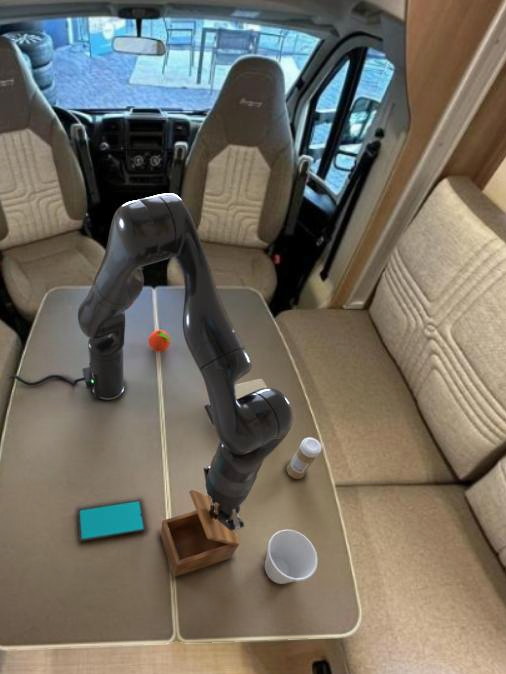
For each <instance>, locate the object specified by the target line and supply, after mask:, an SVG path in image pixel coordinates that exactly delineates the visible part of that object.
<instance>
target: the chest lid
mask: <svg viewBox="0 0 506 674" xmlns="http://www.w3.org/2000/svg"><path fill="white" fill-rule="evenodd" d="M188 493H189V495H190V498H191V500H192V503H193V505H194V508H195V511H196V510H197V513H198V515H199V518H200V521H201V523H202V526H203V528H204V531H205V533H206V536H207V538H208V539H210V540H214V541H219V542H223V543H228V544H232V545H237V546H238V547H239V546H240V545H241V542H240V541H239V538H238V536H237V533H236V531H235V530H232V531H230V530H229V529H228V528H227V527H225V526H224V525H223V524H222V523H220V522H219V520H218V519H217V520H215V518H214V519H212V517H211V514H210V512H209V511H210V505H211V504H210V497H209V496H208V494H207V495H206V494H204V493H202V492H199V491H196V490H194V489H190V490H189V491H188Z"/></svg>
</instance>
